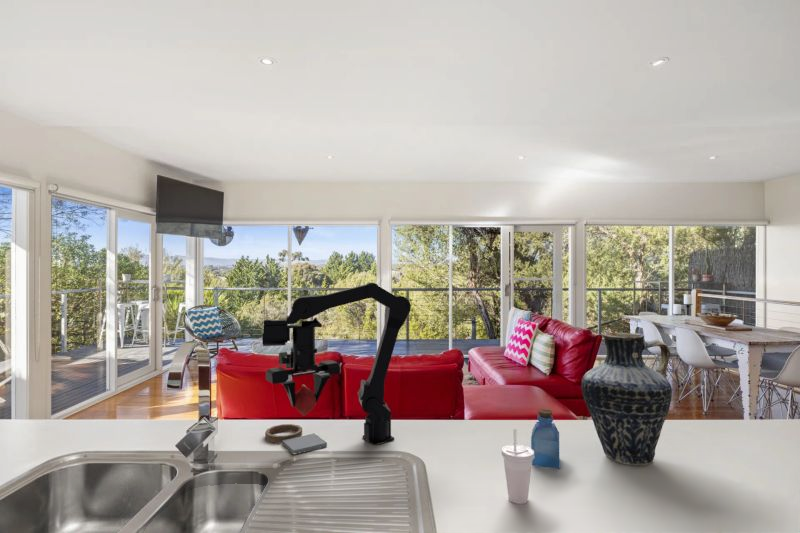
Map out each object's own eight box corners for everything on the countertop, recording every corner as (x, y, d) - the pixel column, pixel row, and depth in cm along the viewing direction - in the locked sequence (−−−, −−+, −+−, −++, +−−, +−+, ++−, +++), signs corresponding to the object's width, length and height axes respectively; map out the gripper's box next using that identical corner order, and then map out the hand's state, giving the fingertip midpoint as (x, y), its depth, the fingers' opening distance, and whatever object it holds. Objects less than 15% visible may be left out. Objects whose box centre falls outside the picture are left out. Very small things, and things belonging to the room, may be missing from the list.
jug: (613, 479, 98) (612, 341, 98) (566, 444, 117) (566, 329, 118) (697, 472, 101) (696, 338, 102) (638, 439, 121) (638, 327, 121)
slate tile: (314, 436, 124) (314, 433, 124) (326, 446, 117) (326, 442, 117) (282, 444, 119) (282, 440, 119) (293, 454, 112) (293, 450, 112)
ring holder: (294, 427, 131) (294, 421, 131) (307, 437, 123) (307, 431, 123) (261, 434, 126) (261, 428, 126) (272, 445, 118) (272, 439, 118)
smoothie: (497, 491, 93) (497, 423, 93) (527, 490, 93) (527, 422, 94) (507, 508, 87) (507, 435, 87) (540, 506, 87) (539, 433, 87)
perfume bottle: (559, 458, 109) (558, 408, 109) (559, 469, 103) (559, 416, 103) (532, 454, 111) (532, 406, 111) (531, 465, 105) (530, 413, 106)
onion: (318, 411, 121) (318, 381, 121) (312, 419, 115) (311, 387, 115) (297, 411, 121) (297, 381, 121) (290, 418, 115) (289, 387, 116)
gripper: (323, 337, 130) (324, 391, 130) (258, 344, 119) (259, 403, 119) (341, 342, 121) (342, 400, 121) (272, 350, 110) (273, 414, 110)
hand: (304, 404), depth 118 cm, fingers closed on onion, 6 cm apart
